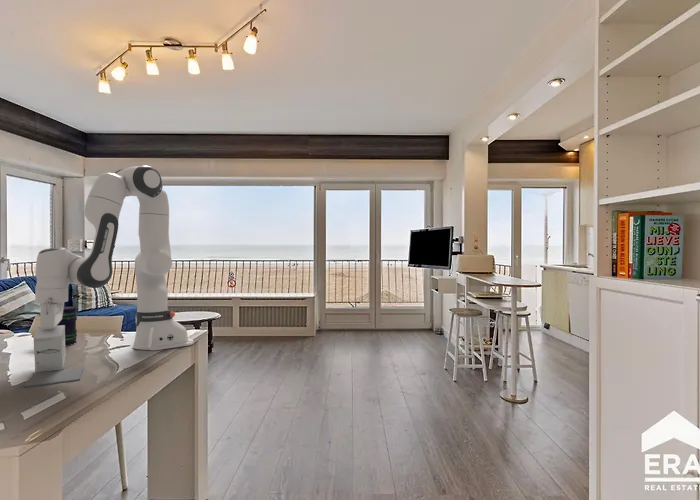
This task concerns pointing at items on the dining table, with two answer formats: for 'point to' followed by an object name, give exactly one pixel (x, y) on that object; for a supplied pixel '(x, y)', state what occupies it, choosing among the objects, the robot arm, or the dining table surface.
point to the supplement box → (49, 349)
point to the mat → (54, 377)
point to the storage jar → (69, 324)
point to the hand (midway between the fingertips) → (51, 339)
